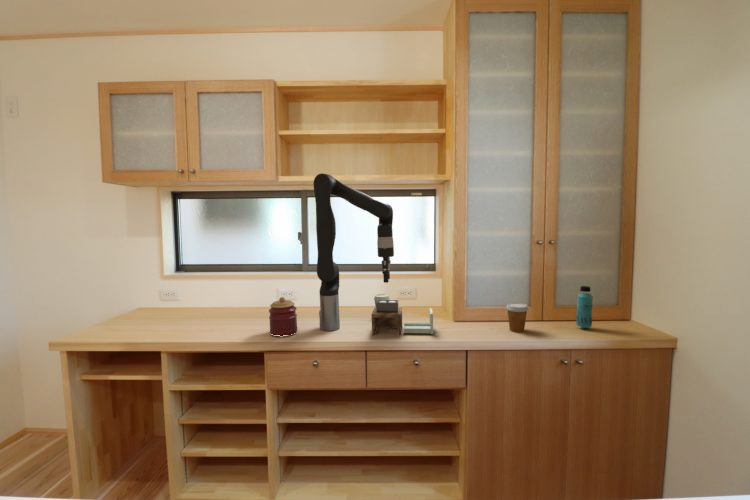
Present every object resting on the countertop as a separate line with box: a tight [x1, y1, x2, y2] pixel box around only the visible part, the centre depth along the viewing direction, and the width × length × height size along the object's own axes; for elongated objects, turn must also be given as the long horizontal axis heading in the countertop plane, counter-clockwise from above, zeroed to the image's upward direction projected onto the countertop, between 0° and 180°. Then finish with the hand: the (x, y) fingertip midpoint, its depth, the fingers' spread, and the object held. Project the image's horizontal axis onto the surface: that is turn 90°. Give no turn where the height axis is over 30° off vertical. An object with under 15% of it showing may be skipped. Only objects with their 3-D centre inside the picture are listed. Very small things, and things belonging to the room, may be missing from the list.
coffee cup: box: [373, 293, 391, 308], centre depth 203 cm, size 8×8×12 cm
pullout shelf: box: [403, 307, 434, 335], centre depth 177 cm, size 14×10×9 cm
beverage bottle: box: [575, 285, 594, 328], centre depth 174 cm, size 6×7×20 cm
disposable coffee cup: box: [505, 302, 529, 333], centre depth 175 cm, size 10×10×12 cm
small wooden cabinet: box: [371, 307, 403, 337], centre depth 179 cm, size 14×12×10 cm
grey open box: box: [375, 299, 400, 312], centre depth 178 cm, size 10×6×4 cm, turn 84°
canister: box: [268, 296, 298, 336], centre depth 180 cm, size 13×13×18 cm
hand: (386, 280), depth 177 cm, fingers open, 8 cm apart
